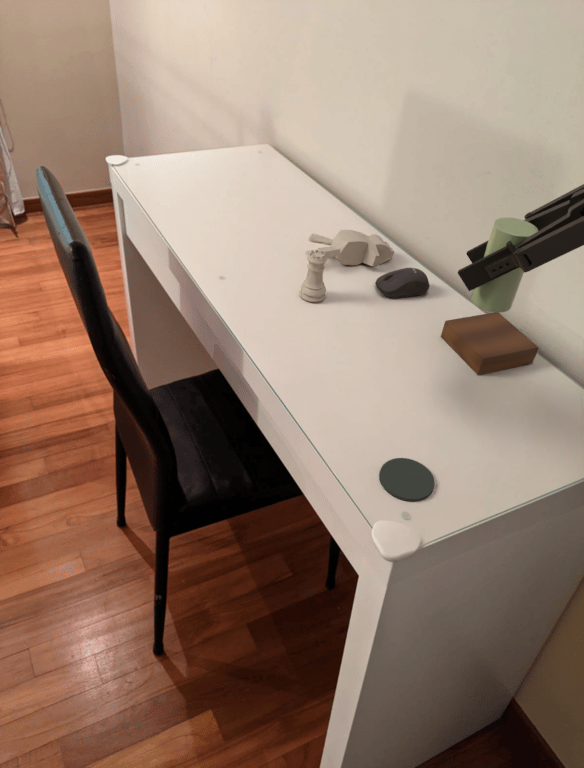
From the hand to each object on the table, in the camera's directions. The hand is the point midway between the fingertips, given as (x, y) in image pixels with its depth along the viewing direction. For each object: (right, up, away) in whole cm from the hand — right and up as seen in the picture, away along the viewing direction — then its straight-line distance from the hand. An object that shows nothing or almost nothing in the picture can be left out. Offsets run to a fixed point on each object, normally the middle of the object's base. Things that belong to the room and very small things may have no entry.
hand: (468, 270), depth 75 cm
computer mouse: (-3, +2, +31) cm, 31 cm away
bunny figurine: (-11, +9, +38) cm, 40 cm away
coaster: (-8, -25, -3) cm, 27 cm away
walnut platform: (+8, -9, +19) cm, 22 cm away
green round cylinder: (+3, -4, +1) cm, 5 cm away
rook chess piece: (-18, +1, +27) cm, 33 cm away
